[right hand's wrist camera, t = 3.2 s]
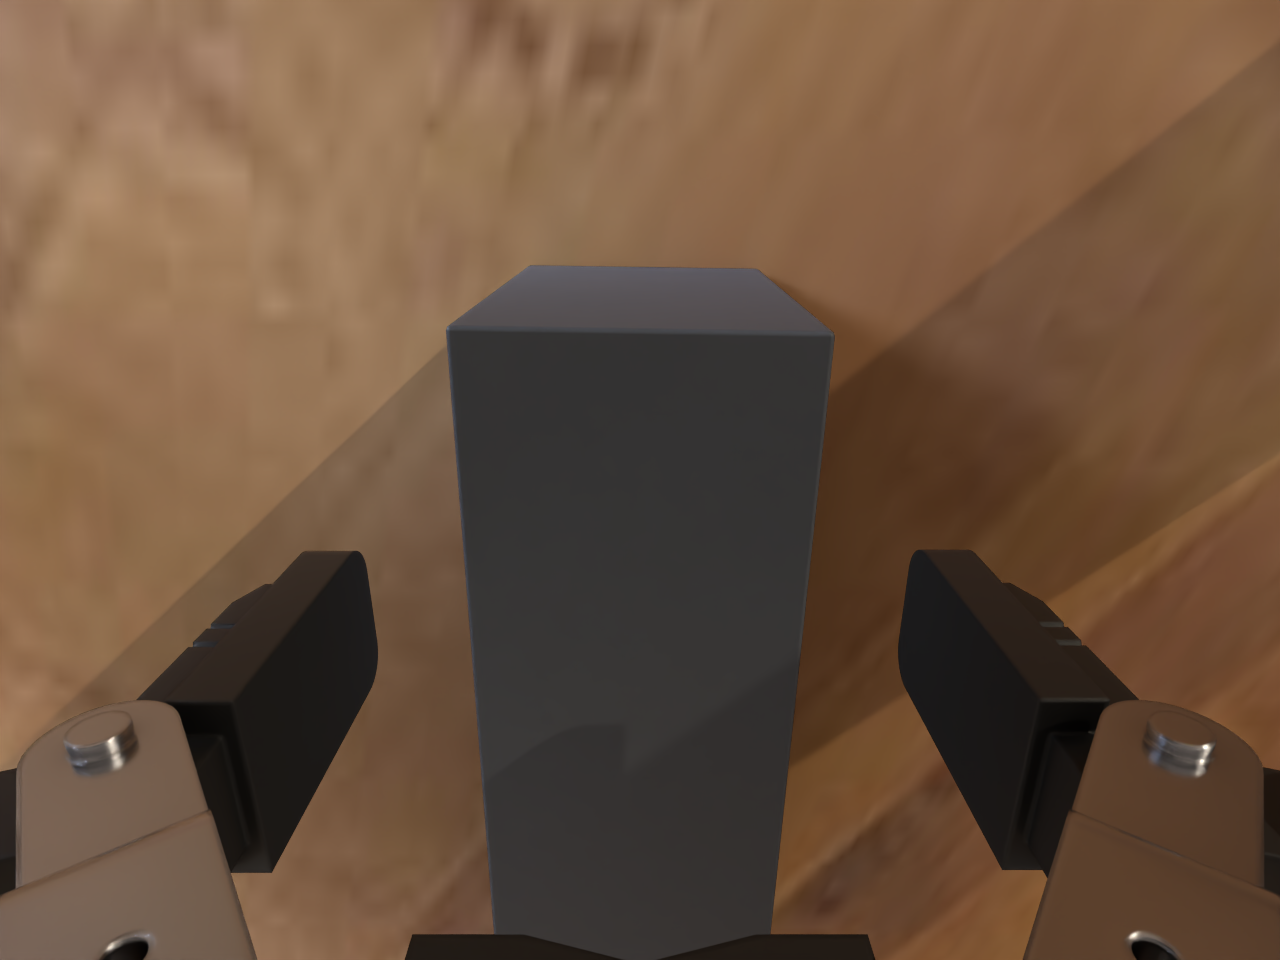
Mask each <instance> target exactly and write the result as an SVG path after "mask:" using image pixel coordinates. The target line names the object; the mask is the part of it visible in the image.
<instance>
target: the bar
mask: <svg viewBox="0 0 1280 960" xmlns="http://www.w3.org/2000/svg"><path fill="white" fill-rule="evenodd" d="M446 336H447V349H448V361H449V374H450V386H451V399H452V411H453V424H454V437H455V449H456V462H457V474H458V487H459V499H460V512H461V524H462V537H463V549H464V562H465V574H466V587H467V600H468V612H469V625H470V637H471V650H472V662H473V675H474V687H475V700H476V712H477V725H478V737H479V750H480V762H481V775H482V788H483V800H484V813H485V825H486V838H487V850H488V863H489V875H490V888H491V900H492V913H493V925H494V934H524V935H528V936H532V937H536V938H540V939H544V940H548V941H552V942H556V943H560V944H564V945H568V946H572V947H575V948H579V949H583V950H587V951H591V952H595V953H599V954H603V955H607V956H611V957H615V958H619V959H623V960H657V959H661V958H665V957H669V956H673V955H677V954H681V953H685V952H689V951H693V950H697V949H701V948H705V947H708V946H712V945H716V944H720V943H724V942H728V941H732V940H736V939H740V938H744V937H748V936H752V935H756V934H770V933H771V923H772V914H773V905H774V896H775V886H776V877H777V868H778V858H779V849H780V840H781V831H782V821H783V812H784V803H785V794H786V784H787V775H788V766H789V756H790V747H791V738H792V729H793V719H794V710H795V701H796V692H797V682H798V673H799V664H800V655H801V645H802V636H803V627H804V617H805V608H806V599H807V590H808V580H809V571H810V562H811V553H812V543H813V534H814V525H815V515H816V506H817V497H818V488H819V478H820V469H821V460H822V451H823V441H824V432H825V423H826V413H827V404H828V395H829V386H830V376H831V367H832V358H833V349H834V339H835V336H834V332H832V331H831V330H830V329H829V328H828V327H826V326H825V325H824V324H823V323H822V322H820V321H819V320H818V319H817V318H816V317H814V316H813V315H812V314H811V313H810V312H808V311H807V310H806V309H805V308H804V307H802V306H801V305H800V304H799V303H798V302H796V301H795V300H794V299H793V298H792V297H790V296H789V295H788V294H787V293H786V292H784V291H783V290H782V289H781V288H780V287H778V286H777V285H776V284H775V283H774V282H772V281H771V280H770V279H769V278H768V277H766V276H765V275H764V274H763V273H762V272H760V271H759V270H757V269H732V268H666V267H601V266H535V265H531V266H528V267H527V268H526V269H524V270H523V271H522V272H520V273H519V274H518V275H516V276H515V277H514V278H512V279H511V280H510V281H508V282H507V283H505V284H504V285H503V286H501V287H500V288H499V289H497V290H496V291H495V292H493V293H492V294H491V295H489V296H488V297H487V298H485V299H484V300H483V301H481V302H480V303H478V304H477V305H476V306H474V307H473V308H472V309H470V310H469V311H468V312H466V313H465V314H464V315H462V316H461V317H460V318H458V319H457V320H456V321H454V322H453V323H451V324H450V325H449V326H447V329H446Z"/></svg>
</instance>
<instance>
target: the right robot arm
mask: <svg viewBox="0 0 1280 960" xmlns="http://www.w3.org/2000/svg"><path fill="white" fill-rule="evenodd" d="M898 660H899V668H900V673H901V677H902V681H903V684H904V686H905V688H906V690H907V692H908V694H909V696H910V698H911V700H912V701H913V703H914V705H915V707H916V709H917V711H918V713H919V715H920V716H921V718H922V720H923V722H924V724H925V726H926V728H927V730H928V731H929V733H930V735H931V737H932V739H933V741H934V743H935V745H936V746H937V748H938V750H939V752H940V754H941V756H942V758H943V760H944V761H945V763H946V765H947V767H948V769H949V771H950V773H951V775H952V776H953V778H954V780H955V782H956V784H957V786H958V788H959V790H960V791H961V793H962V795H963V797H964V799H965V801H966V803H967V805H968V806H969V808H970V810H971V812H972V814H973V816H974V818H975V820H976V821H977V823H978V825H979V827H980V829H981V831H982V833H983V835H984V836H985V838H986V840H987V842H988V844H989V846H990V848H991V850H992V851H993V853H994V855H995V857H996V859H997V861H998V863H999V865H1000V866H1001V868H1002V870H1043V871H1044V873H1045V875H1046V876H1047V878H1048V879H1047V882H1046V886H1045V889H1044V892H1043V895H1042V899H1041V902H1040V905H1039V908H1038V912H1037V915H1036V918H1035V921H1034V924H1033V928H1032V931H1031V934H1030V937H1029V941H1028V944H1027V947H1026V950H1025V954H1024V957H1023V960H1280V771H1279V770H1274V769H1269V768H1264V767H1263V766H1262V763H1261V761H1260V759H1259V757H1258V756H1257V754H1256V753H1255V752H1254V750H1253V749H1252V748H1251V747H1250V746H1249V745H1248V744H1247V743H1246V742H1245V741H1244V740H1242V739H1241V738H1240V737H1239V736H1237V735H1236V734H1235V733H1233V732H1232V731H1230V730H1229V729H1227V728H1225V727H1224V726H1222V725H1220V724H1219V723H1217V722H1215V721H1213V720H1211V719H1209V718H1207V717H1205V716H1202V715H1200V714H1198V713H1195V712H1192V711H1190V710H1187V709H1184V708H1181V707H1177V706H1174V705H1170V704H1166V703H1161V702H1155V701H1147V700H1139V699H1138V698H1137V697H1136V696H1135V695H1134V694H1133V693H1132V692H1131V691H1130V690H1129V689H1128V688H1127V687H1126V686H1125V685H1124V684H1123V683H1122V682H1121V681H1120V680H1119V679H1118V678H1117V677H1116V676H1115V675H1114V674H1113V673H1112V672H1111V671H1110V670H1109V669H1108V668H1107V667H1106V665H1105V664H1104V663H1103V662H1102V661H1101V660H1100V659H1099V658H1098V657H1097V656H1096V655H1095V654H1094V653H1093V652H1092V651H1091V650H1090V649H1089V648H1088V647H1087V646H1082V644H1081V640H1080V639H1079V638H1078V637H1077V636H1076V635H1075V634H1074V633H1073V632H1072V631H1071V630H1070V629H1069V628H1068V627H1064V623H1063V622H1062V621H1061V620H1060V619H1059V618H1058V616H1057V615H1056V614H1055V613H1054V612H1053V611H1052V610H1051V609H1050V608H1049V607H1048V606H1047V605H1046V604H1045V603H1044V602H1043V601H1041V600H1039V599H1038V598H1036V597H1034V596H1032V595H1031V594H1029V593H1027V592H1025V591H1023V590H1022V589H1020V588H1018V587H1016V586H1015V585H1013V584H1011V583H1002V582H1001V581H1000V580H999V579H998V578H997V577H996V575H995V574H994V573H993V572H992V571H991V570H990V569H989V568H988V567H987V566H986V565H985V564H984V562H983V561H982V560H981V559H980V558H979V557H978V556H977V555H976V554H975V553H974V552H973V551H971V550H917V551H916V552H915V553H914V554H913V556H912V558H911V561H910V566H909V572H908V579H907V586H906V593H905V600H904V607H903V614H902V622H901V629H900V636H899V644H898ZM377 662H378V645H377V637H376V630H375V623H374V616H373V609H372V602H371V595H370V588H369V581H368V574H367V568H366V563H365V560H364V558H363V556H362V554H361V553H360V552H358V551H305V552H303V553H302V554H300V555H299V556H298V558H297V559H296V560H295V561H294V562H293V563H292V564H291V565H290V566H289V567H288V568H287V569H286V570H285V571H284V573H283V574H282V575H281V576H280V577H279V578H278V579H277V580H276V581H275V582H274V583H273V584H265V585H263V586H261V587H259V588H258V589H256V590H254V591H252V592H251V593H249V594H247V595H245V596H243V597H242V598H240V599H238V600H236V601H234V602H233V603H232V604H231V605H230V606H229V607H228V608H227V609H226V610H225V611H224V612H223V613H222V614H221V615H220V616H219V617H218V618H217V619H216V620H215V621H214V622H213V623H212V624H211V629H206V630H205V631H204V632H203V633H202V634H201V635H200V636H199V637H198V638H197V639H196V640H195V641H194V642H193V647H188V648H187V649H186V650H185V651H184V652H183V653H182V654H181V655H180V656H179V657H178V658H177V659H176V660H175V661H174V662H173V663H172V664H171V665H170V666H169V667H168V668H167V669H166V670H165V671H164V672H163V673H162V674H161V675H160V676H159V677H158V678H157V679H156V680H155V681H154V682H153V683H152V684H151V685H150V687H149V688H148V689H147V690H146V691H145V692H144V693H143V694H142V695H141V696H140V697H139V698H138V699H137V700H133V701H125V702H119V703H114V704H110V705H106V706H103V707H99V708H96V709H93V710H90V711H88V712H85V713H82V714H80V715H78V716H75V717H73V718H71V719H69V720H67V721H65V722H63V723H61V724H60V725H58V726H56V727H55V728H53V729H51V730H50V731H48V732H47V733H45V734H44V735H43V736H41V737H40V738H39V739H38V740H36V741H35V742H34V743H33V744H32V745H31V746H30V747H29V748H28V749H27V750H26V752H25V753H24V754H23V756H22V757H21V759H20V761H19V763H18V766H17V768H15V769H11V770H6V771H1V772H0V960H257V957H256V954H255V950H254V947H253V944H252V941H251V937H250V934H249V931H248V928H247V924H246V921H245V918H244V915H243V912H242V908H241V905H240V902H239V899H238V895H237V892H236V889H235V886H234V882H233V879H232V876H231V873H272V871H273V869H274V868H275V866H276V864H277V862H278V860H279V858H280V856H281V855H282V853H283V851H284V849H285V847H286V845H287V843H288V842H289V840H290V838H291V836H292V834H293V832H294V830H295V829H296V827H297V825H298V823H299V821H300V819H301V817H302V816H303V814H304V812H305V810H306V808H307V806H308V805H309V803H310V801H311V799H312V797H313V795H314V793H315V792H316V790H317V788H318V786H319V784H320V782H321V780H322V779H323V777H324V775H325V773H326V771H327V769H328V767H329V766H330V764H331V762H332V760H333V758H334V756H335V754H336V753H337V751H338V749H339V747H340V745H341V743H342V742H343V740H344V738H345V736H346V734H347V732H348V730H349V729H350V727H351V725H352V723H353V721H354V719H355V717H356V716H357V714H358V712H359V710H360V708H361V706H362V704H363V703H364V701H365V699H366V697H367V695H368V693H369V691H370V690H371V687H372V685H373V682H374V679H375V675H376V670H377ZM405 960H623V959H619V958H615V957H611V956H607V955H603V954H599V953H595V952H591V951H587V950H583V949H579V948H575V947H572V946H568V945H564V944H560V943H556V942H552V941H548V940H544V939H540V938H536V937H532V936H528V935H524V934H412V938H411V941H410V944H409V948H408V951H407V954H406V957H405ZM657 960H875V957H874V954H873V951H872V948H871V944H870V941H869V938H868V934H756V935H752V936H748V937H744V938H740V939H736V940H732V941H728V942H724V943H720V944H716V945H712V946H708V947H705V948H701V949H697V950H693V951H689V952H685V953H681V954H677V955H673V956H669V957H665V958H661V959H657Z"/></svg>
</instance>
